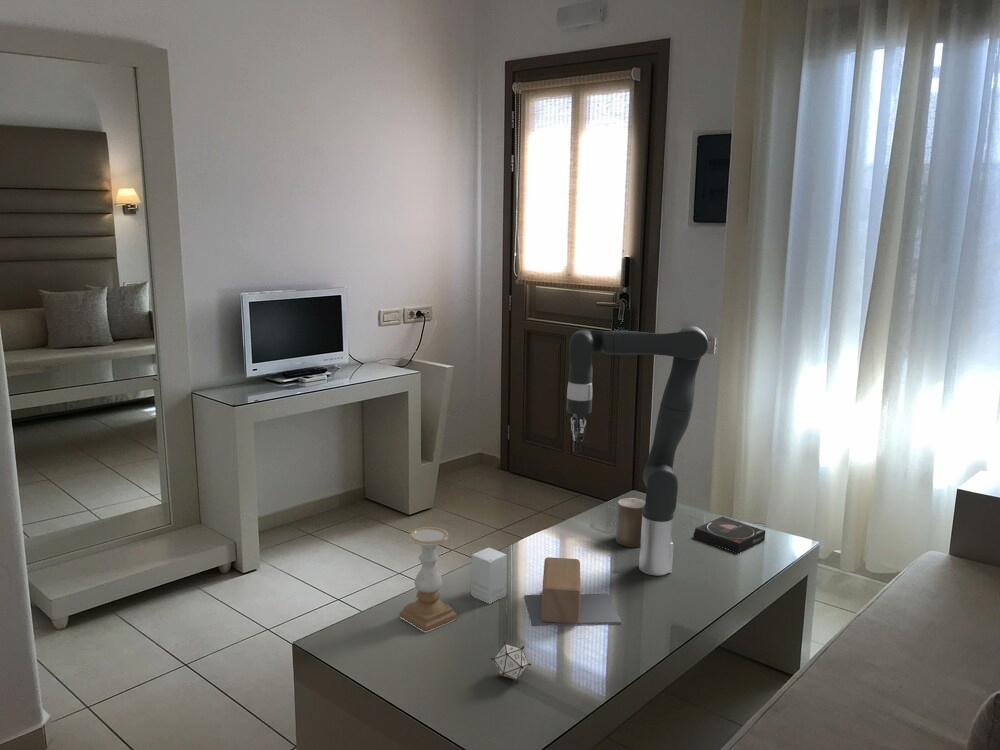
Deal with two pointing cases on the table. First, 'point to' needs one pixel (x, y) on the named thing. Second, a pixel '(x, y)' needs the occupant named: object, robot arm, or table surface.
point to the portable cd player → (730, 534)
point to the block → (561, 590)
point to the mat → (591, 610)
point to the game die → (510, 661)
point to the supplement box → (489, 575)
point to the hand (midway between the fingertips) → (577, 452)
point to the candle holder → (428, 583)
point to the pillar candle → (629, 522)
